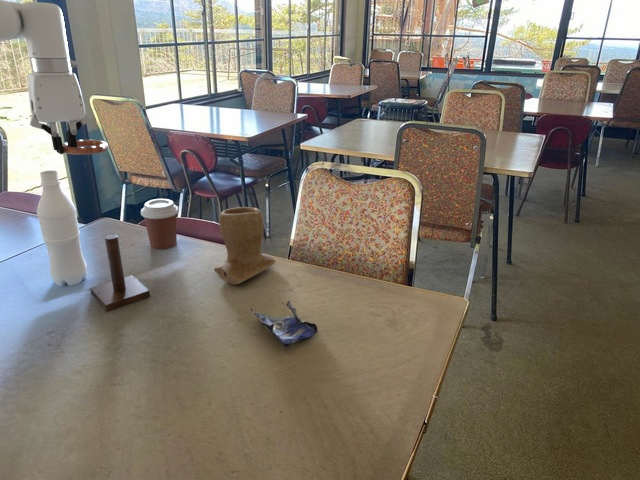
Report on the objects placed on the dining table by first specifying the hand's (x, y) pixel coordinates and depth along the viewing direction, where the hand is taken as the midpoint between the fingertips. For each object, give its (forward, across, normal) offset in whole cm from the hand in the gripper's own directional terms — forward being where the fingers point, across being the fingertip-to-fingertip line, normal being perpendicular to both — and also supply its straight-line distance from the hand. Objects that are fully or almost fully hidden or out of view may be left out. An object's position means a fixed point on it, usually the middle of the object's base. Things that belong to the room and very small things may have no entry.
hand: (66, 151), depth 110 cm
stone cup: (+25, -25, +33) cm, 49 cm away
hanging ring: (-1, -4, 0) cm, 4 cm away
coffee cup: (+25, -17, +9) cm, 32 cm away
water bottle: (+26, +7, +14) cm, 30 cm away
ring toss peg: (+25, +1, +26) cm, 36 cm away
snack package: (+25, -17, +59) cm, 66 cm away
